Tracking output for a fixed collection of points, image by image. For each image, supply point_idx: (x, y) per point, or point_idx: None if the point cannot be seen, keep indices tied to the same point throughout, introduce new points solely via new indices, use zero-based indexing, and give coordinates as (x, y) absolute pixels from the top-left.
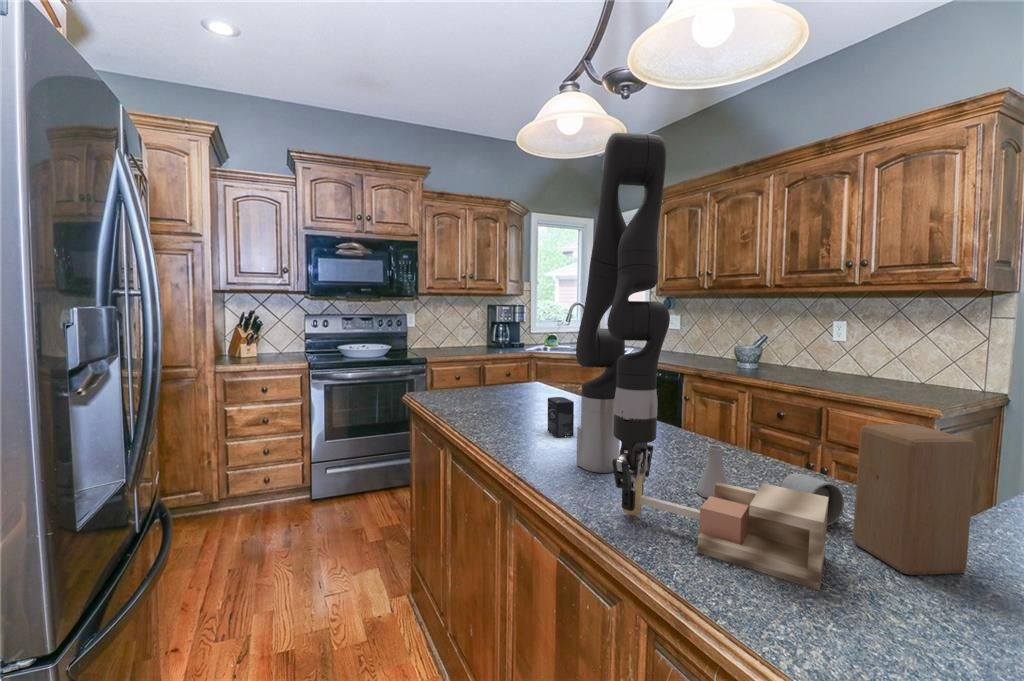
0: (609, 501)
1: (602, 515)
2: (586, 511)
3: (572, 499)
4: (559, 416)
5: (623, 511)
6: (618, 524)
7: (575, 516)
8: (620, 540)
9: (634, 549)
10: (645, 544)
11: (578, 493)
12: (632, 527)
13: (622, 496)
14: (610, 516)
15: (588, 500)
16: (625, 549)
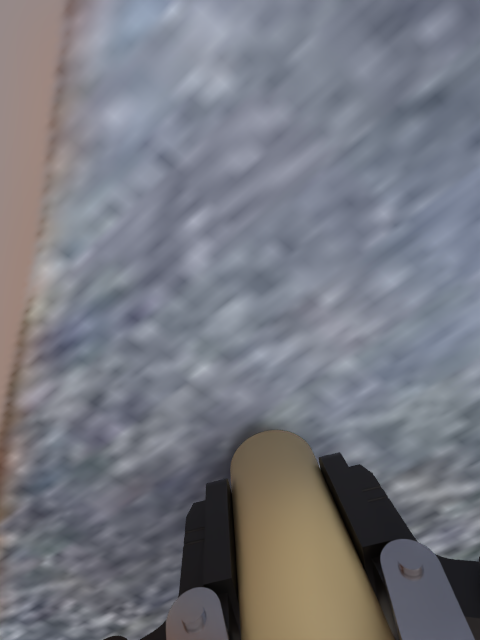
0: (341, 279)
1: (173, 362)
2: (140, 283)
3: (198, 111)
4: None
5: (240, 445)
6: (159, 459)
7: (44, 286)
8: (55, 540)
9: (48, 599)
10: (112, 599)
11: (303, 68)
12: (186, 505)
13: (205, 535)
14: (196, 391)
15: (264, 191)
16: (18, 585)
